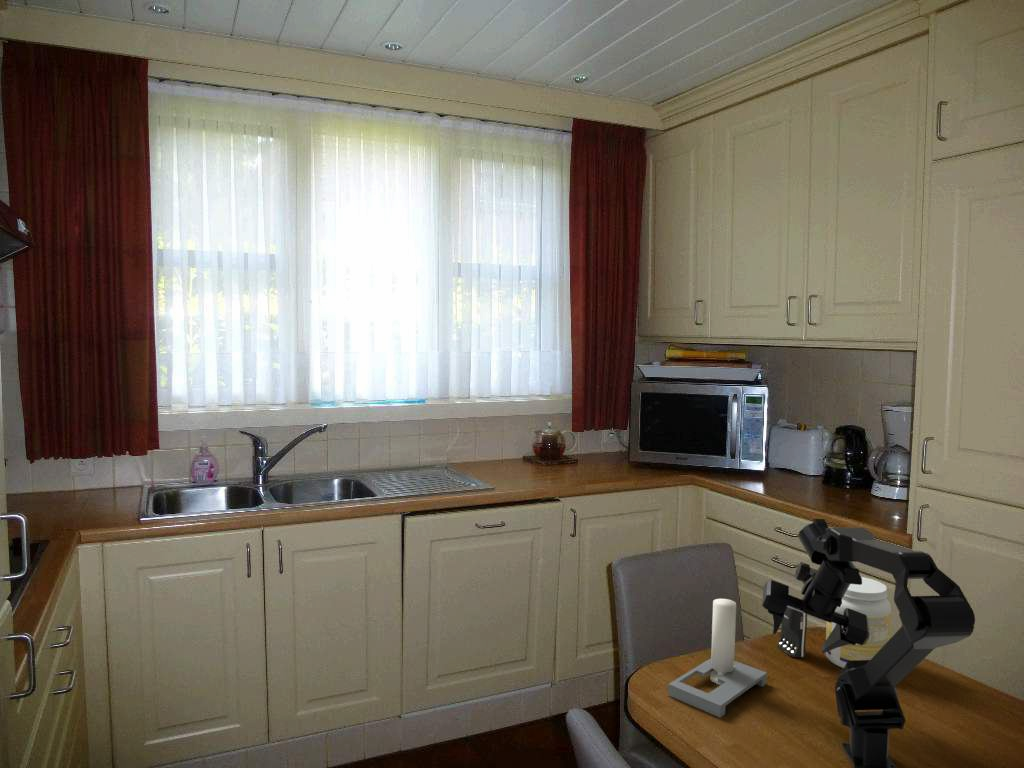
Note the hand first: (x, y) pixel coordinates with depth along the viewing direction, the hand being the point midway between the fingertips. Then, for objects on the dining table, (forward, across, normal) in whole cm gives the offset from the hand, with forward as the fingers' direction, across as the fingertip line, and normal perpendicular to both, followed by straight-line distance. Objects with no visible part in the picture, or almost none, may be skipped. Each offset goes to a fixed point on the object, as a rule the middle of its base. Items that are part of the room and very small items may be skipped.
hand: (798, 641), depth 141 cm
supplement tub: (+13, -17, -15) cm, 26 cm away
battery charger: (+16, -4, -14) cm, 22 cm away
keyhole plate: (+13, +11, +7) cm, 18 cm away
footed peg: (+14, +10, +3) cm, 17 cm away
